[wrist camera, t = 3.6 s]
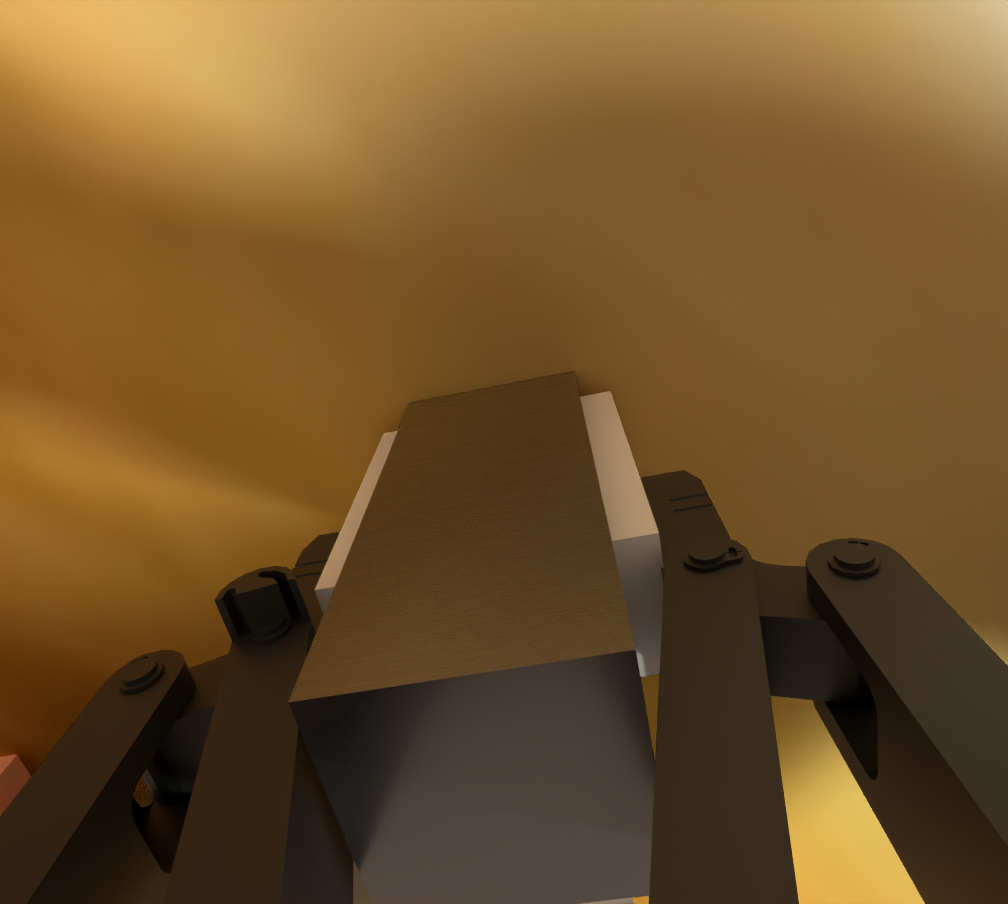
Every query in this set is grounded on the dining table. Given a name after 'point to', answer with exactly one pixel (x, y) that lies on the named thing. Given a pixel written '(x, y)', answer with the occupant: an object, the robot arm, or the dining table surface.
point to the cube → (11, 779)
